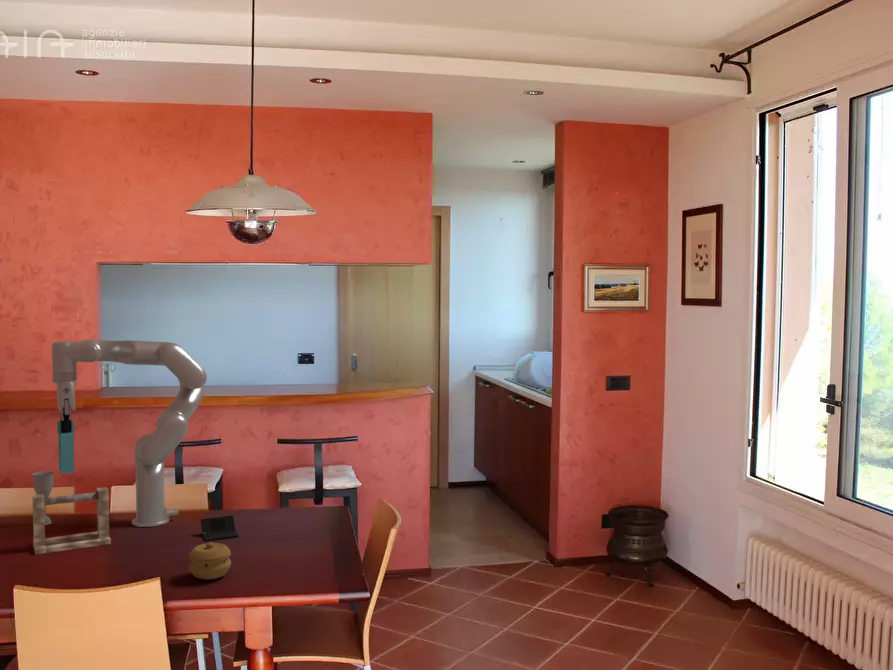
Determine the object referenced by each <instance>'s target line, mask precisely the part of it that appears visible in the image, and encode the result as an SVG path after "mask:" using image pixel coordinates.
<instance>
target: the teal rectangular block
mask: <svg viewBox="0 0 893 670" xmlns="http://www.w3.org/2000/svg"><path fill="white" fill-rule="evenodd" d="M56 425H57V426H56V429H57V431H56V433H57V435H58V436H57V440H58V441H57V442H58V470H59V471H60V474H61V475H64V474H74V473H75V441H74V433H75V420H74V419H71V426H72V431H71V432H65V433H62V432H61V421H60V420H57V422H56Z"/></svg>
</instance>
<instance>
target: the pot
mask: <svg viewBox="0 0 893 670" xmlns="http://www.w3.org/2000/svg"><path fill="white" fill-rule="evenodd" d="M230 556H232V553H231V549H230V548H229V547H228V546H227V545H226V544H224V543H219V542H213V541H208V542H206V543H202V544H198V545H197V546H195V547H193V548H192V549H191V551H189V554H188V559H189V560H190V563H189V564H188V569H189V571H190V573H191V575H192V576H193V577H195V578H196V579H200V580H205V581H206V580H207V581H208V580H216V579H218V578H222V577H223V576H224V575H226V574H227V573H228V571H229V570H230V568H231V565H232V560H231V558H230Z"/></svg>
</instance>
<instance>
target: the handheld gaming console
mask: <svg viewBox="0 0 893 670" xmlns="http://www.w3.org/2000/svg"><path fill="white" fill-rule="evenodd" d="M200 525H201V533H202V534H201V535H202V538H203V540H204V541H205V542H206V543H209V542H214V541H222V540H229V539H235V538H239V536H240V535H239V534H238V533H237V531H236V526H235V519H234V515H226V516H217V517H216V516H215V517H210V518H201V519H200Z"/></svg>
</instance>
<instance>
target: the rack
mask: <svg viewBox="0 0 893 670" xmlns="http://www.w3.org/2000/svg"><path fill="white" fill-rule="evenodd" d="M109 492H110V491H109V488H108V487H106V486H105V487H96V492H95V491H94V492H87V493H86V492H85V493H78V494H67V495H66V494H65V495H58V496H49V497H48V498H44V495H43V494H38V495H37V494H32V532H33V533H32V535H33V537H32V538H33V539H32V547H33V551H34V554H35V555H36V556H37V555H43V554H49V553H55V552H56V553H57V552H62V551H70V550H75V549H76V550H78V549H85V548H92V547H100V546H104V545H111V544H112V538H111V537H110V496H109V495H110V493H109ZM94 500H96V522H97V529H96V531H90V532H84V533H75V534H69V535H61V536H60V535H59V536H53V537H46V529H45V527H46V525H45V514H46V512H45V513H44V505H46V506H50V505H52V506H53V505H61V504H69V503H70V504H71V503H76V502H78V503H79V502H87V501H94Z"/></svg>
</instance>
